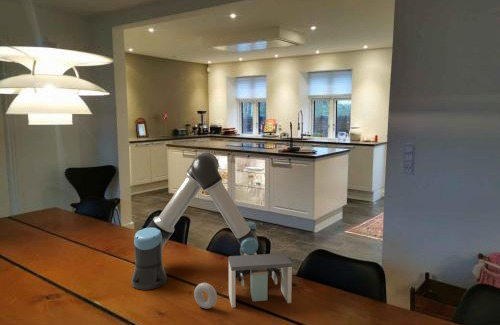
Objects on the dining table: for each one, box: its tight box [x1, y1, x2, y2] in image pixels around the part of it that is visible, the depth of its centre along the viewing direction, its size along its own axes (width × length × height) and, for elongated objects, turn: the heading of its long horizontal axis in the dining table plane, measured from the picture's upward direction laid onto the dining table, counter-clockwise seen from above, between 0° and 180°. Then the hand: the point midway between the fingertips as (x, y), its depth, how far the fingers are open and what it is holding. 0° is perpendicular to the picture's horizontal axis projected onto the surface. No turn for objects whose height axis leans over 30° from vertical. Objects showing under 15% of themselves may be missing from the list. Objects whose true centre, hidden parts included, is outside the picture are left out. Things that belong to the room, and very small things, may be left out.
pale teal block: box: [249, 269, 269, 302], centre depth 148 cm, size 6×6×12 cm
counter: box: [228, 252, 293, 308], centre depth 147 cm, size 24×11×16 cm, turn 99°
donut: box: [193, 282, 218, 310], centre depth 139 cm, size 10×4×10 cm, turn 63°
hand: (259, 282), depth 145 cm, fingers open, 13 cm apart
